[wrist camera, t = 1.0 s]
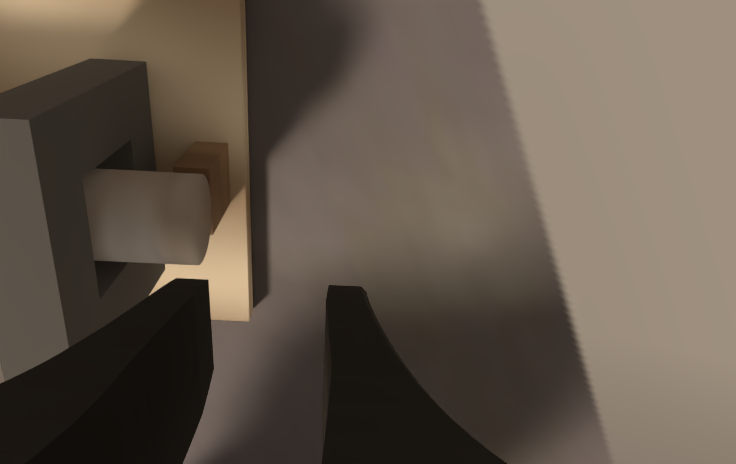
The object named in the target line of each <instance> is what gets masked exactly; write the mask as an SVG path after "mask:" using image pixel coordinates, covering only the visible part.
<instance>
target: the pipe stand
mask: <svg viewBox="0 0 736 464" xmlns="http://www.w3.org/2000/svg"><path fill="white" fill-rule="evenodd" d="M90 58H91V59H109V60H127V61H145V62H146V65H147V76H148V86H149V97H150V108H151V119H152V130H153V141H154V151H155V162H156V172H155V171H135V170H115V169H96V168H94V169H93V170H92V171H91V172H89V173H88V174H87V175H86V176H84V177H83V178H82V181H83V188H84V195H85V202H86V208H87V215H88V222H89V229H90V236H91V243H92V250H93V257H94V261H115V262H136V263H158V264H165V271H164V272H163V274H162V275H161V277H160V279H159V280H158V282H157V283H156V285H155V287H154V288H153V290H152V291H151V293H150V294H149V295H151V294H152V293H154V292H155V291H157V290H158V289H160V288H161V287H163V286H164V285H166V284H167V283H169V282H170V281H172V280H174V279H175V278H185V279H207V280H209V297H210V314H211V320H233V321H250V318H251V314H252V311H253V286H252V248H251V209H250V171H249V133H248V95H247V56H246V18H245V0H0V93H2V92H4V91H7V90H10V89H12V88H15V87H17V86H20V85H23V84H25V83H28V82H30V81H33V80H36V79H38V78H41V77H43V76H46V75H49V74H51V73H54V72H56V71H59V70H62V69H64V68H67V67H69V66H72V65H75V64H77V63H80V62H82V61H85V60H88V59H90Z"/></svg>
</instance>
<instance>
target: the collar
mask: <svg viewBox="0 0 736 464" xmlns="http://www.w3.org/2000/svg"><path fill="white" fill-rule="evenodd" d="M94 168H96V169H115V170H135V171H155V172H156V162H155V151H154V141H153V130H152V119H151V108H150V97H149V86H148V76H147V65H146V62H145V61H127V60H109V59H91V58H90V59H88V60H85V61H82V62H80V63H77V64H75V65H72V66H69V67H67V68H64V69H62V70H59V71H56V72H54V73H51V74H49V75H46V76H43V77H41V78H38V79H36V80H33V81H30V82H28V83H25V84H23V85H20V86H17V87H15V88H12V89H10V90H7V91H4V92H2V93H0V363H1V367H2V371H3V376H4V380H5V381H7V380H9V379H11V378H13V377H15V376H17V375H19V374H21V373H23V372H25V371H27V370H29V369H32V368H34V367H35V366H37V365H39V364H41V363H43V362H45V361H47V360H49V359H50V358H52V357H54V356H56V355H58V354H59V353H61V352H63V351H64V350H66V349H68V348H69V347H71V346H73V345H74V344H76V343H77V342H79V341H81V340H82V339H84V338H86V337H87V336H89V335H91V334H92V333H94V332H96V331H97V330H99V329H100V328H102V327H104V326H105V325H107V324H108V323H110V322H111V321H113V320H114V319H116V318H117V317H119V316H120V315H122V314H123V313H125V312H126V311H128V310H129V309H130V308H132V307H133V306H135V305H136V304H138V303H139V302H141V301H142V300H144V299H145V298H146V297H148V296H149V294H150V293H151V291H152V290H153V288H154V287H155V285H156V283H157V282H158V280H159V279H160V277H161V275H162V274H163V272H164V271H165V264H158V263H136V262H115V261H94V257H93V250H92V243H91V236H90V229H89V222H88V215H87V208H86V202H85V195H84V188H83V181H82V178H83V177H84V176H86V175H87V174H88V173H89V172H91V171H92V170H93V169H94Z"/></svg>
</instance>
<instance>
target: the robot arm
mask: <svg viewBox="0 0 736 464" xmlns="http://www.w3.org/2000/svg"><path fill="white" fill-rule="evenodd" d="M213 370H214V364H213V347H212V330H211V314H210V297H209V280H207V279H185V278H175V279H174V280H172V281H170V282H169V283H167V284H166V285H164V286H163V287H161V288H160V289H158V290H157V291H155V292H154V293H152V294H151V295H149V296H148V297H146V298H145V299H144V300H142V301H141V302H139V303H138V304H136V305H135V306H133V307H132V308H130V309H129V310H128V311H126V312H125V313H123V314H122V315H120V316H119V317H117V318H116V319H114V320H113V321H111V322H110V323H108V324H107V325H105V326H104V327H102V328H100V329H99V330H97V331H96V332H94V333H92V334H91V335H89V336H87V337H86V338H84V339H82V340H81V341H79V342H77V343H76V344H74V345H73V346H71V347H69V348H68V349H66V350H64V351H63V352H61V353H59V354H58V355H56V356H54V357H52V358H50V359H49V360H47V361H45V362H43V363H41V364H39V365H37V366H35V367H34V368H32V369H29V370H27V371H25V372H23V373H21V374H19V375H17V376H15V377H13V378H11V379H9V380H7V381H5V382H3V383H1V384H0V464H183V461H184V459H185V457H186V454H187V452H188V449H189V447H190V444H191V442H192V439H193V437H194V434H195V432H196V429H197V427H198V424H199V421H200V419H201V416H202V413H203V410H204V406H205V402H206V398H207V395H208V390H209V386H210V382H211V378H212V374H213ZM322 422H323V458H322V464H507V463H505V462H504V461H503V460H501V459H500V458H498V457H497V456H496V455H494V454H493V453H491V452H490V451H489V450H487V449H486V448H485V447H484V446H482V445H481V444H480V443H479V442H477V441H476V440H475V439H474V438H473V437H472V436H470V435H469V434H468V433H467V432H466V431H465V430H464V429H462V428H461V427H460V426H459V425H458V424H457V423H456V422H455V421H453V420H452V419H451V418H450V417H449V416H448V415H447V414H446V413H445V412H444V411H443V410H442V409H441V408H440V407H439V406H438V405H437V404H436V402H435V401H434V400H433V399H432V398H431V397H430V396H429V395H428V394H427V392H426V391H425V390H424V389H423V388H422V386H421V385H420V384H419V383H418V382H417V380H416V379H415V378H414V376H413V375H412V374H411V372H410V371H409V370H408V368H407V367H406V366H405V364H404V363H403V361H402V360H401V359H400V357H399V356H398V354H397V353H396V351H395V350H394V348H393V346H392V345H391V343H390V341H389V340H388V338H387V336H386V335H385V333H384V331H383V330H382V328H381V326H380V324H379V322H378V320H377V318H376V316H375V314H374V312H373V310H372V308H371V305H370V303H369V300H368V297H367V293H366V291H365V290H364V289H363V288H362V287H358V286H336V285H329V287H328V292H327V298H326V321H325V353H324V385H323V417H322Z"/></svg>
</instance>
